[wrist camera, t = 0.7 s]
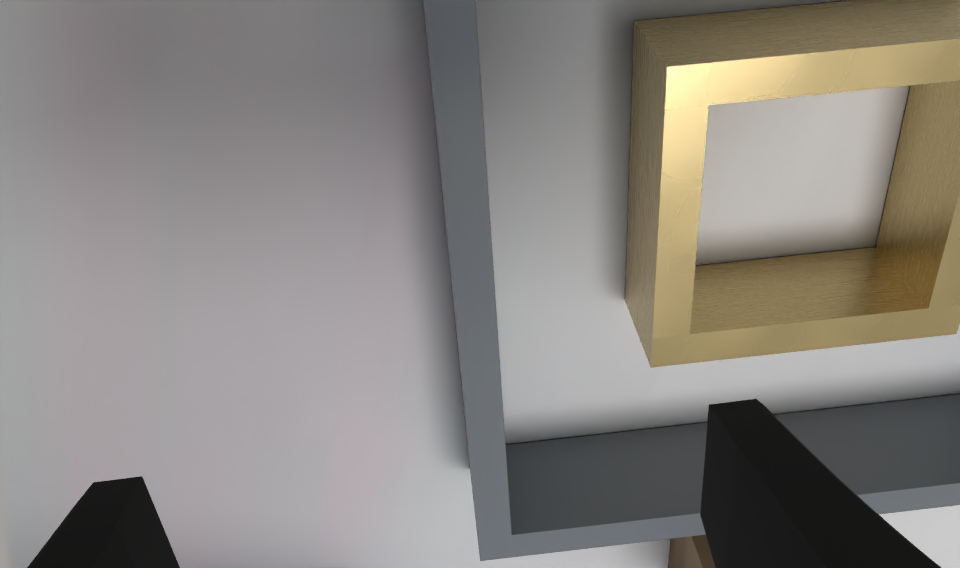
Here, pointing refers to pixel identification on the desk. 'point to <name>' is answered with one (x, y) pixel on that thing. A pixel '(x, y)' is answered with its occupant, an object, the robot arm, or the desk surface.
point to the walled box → (633, 454)
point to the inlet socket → (802, 278)
